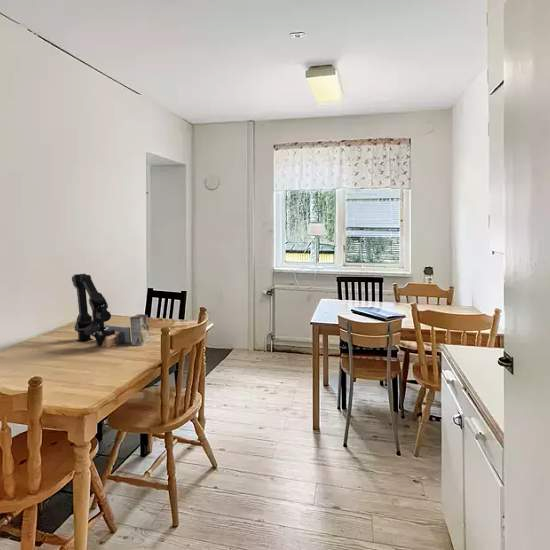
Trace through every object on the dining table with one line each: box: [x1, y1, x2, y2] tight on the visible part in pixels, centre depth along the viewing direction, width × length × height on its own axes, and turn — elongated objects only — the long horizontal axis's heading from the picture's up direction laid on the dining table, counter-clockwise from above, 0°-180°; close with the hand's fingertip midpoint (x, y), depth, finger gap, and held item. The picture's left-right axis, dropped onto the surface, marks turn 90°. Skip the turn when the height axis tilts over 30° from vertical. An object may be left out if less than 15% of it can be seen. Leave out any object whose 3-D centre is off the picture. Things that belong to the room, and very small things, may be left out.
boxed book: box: [100, 331, 120, 348], centre depth 236 cm, size 5×10×6 cm, turn 155°
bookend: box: [116, 332, 130, 346], centre depth 236 cm, size 5×5×6 cm
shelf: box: [104, 324, 132, 344], centre depth 240 cm, size 19×7×9 cm, turn 65°
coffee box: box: [129, 313, 151, 347], centre depth 237 cm, size 9×6×16 cm
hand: (100, 346), depth 229 cm, fingers closed, pressing on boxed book
